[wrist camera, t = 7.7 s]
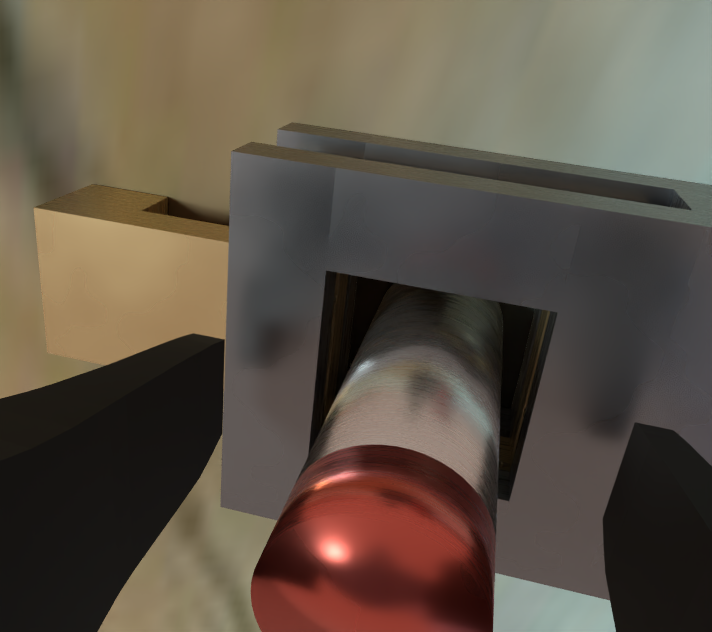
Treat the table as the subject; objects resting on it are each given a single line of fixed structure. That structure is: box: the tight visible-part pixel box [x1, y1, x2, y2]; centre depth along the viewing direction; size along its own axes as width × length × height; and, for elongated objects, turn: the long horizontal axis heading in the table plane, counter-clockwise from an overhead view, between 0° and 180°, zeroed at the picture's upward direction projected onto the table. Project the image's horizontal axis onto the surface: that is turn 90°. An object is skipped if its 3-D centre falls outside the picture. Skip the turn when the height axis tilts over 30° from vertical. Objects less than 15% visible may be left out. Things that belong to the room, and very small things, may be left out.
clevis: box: [34, 123, 712, 600], centre depth 15 cm, size 17×8×4 cm, turn 83°
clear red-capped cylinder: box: [251, 283, 503, 632], centre depth 12 cm, size 3×3×9 cm
